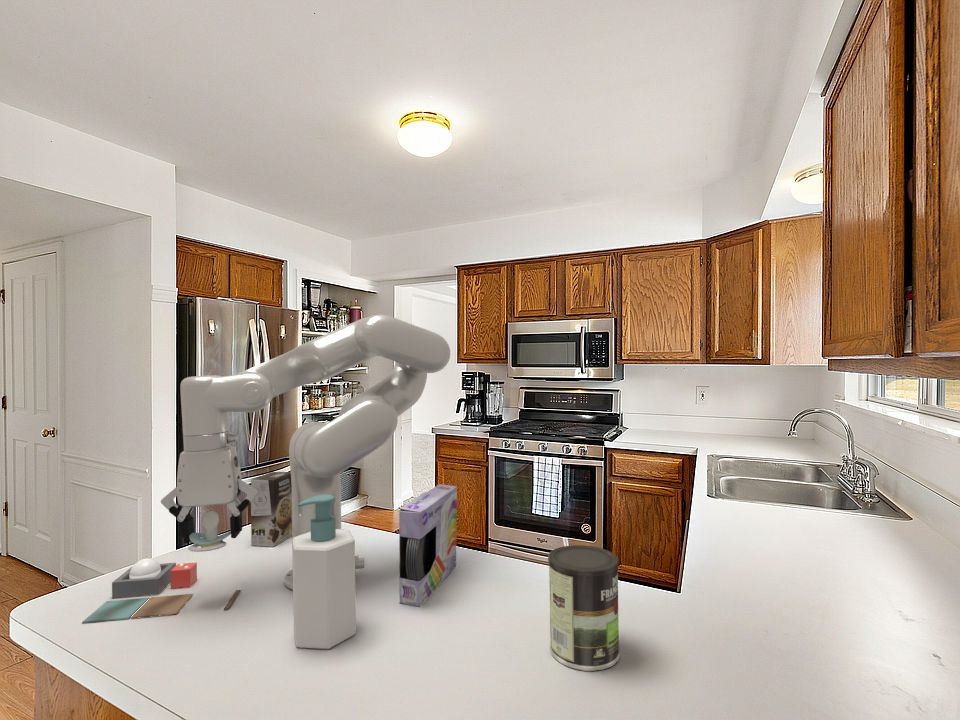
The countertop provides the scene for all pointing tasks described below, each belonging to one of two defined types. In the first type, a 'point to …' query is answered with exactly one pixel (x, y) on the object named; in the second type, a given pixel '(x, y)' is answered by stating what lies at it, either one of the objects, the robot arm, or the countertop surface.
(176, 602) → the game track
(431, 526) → the cake pan box
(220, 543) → the pacifier
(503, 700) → the countertop surface
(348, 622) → the soap bottle
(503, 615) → the countertop surface
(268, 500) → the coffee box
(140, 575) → the popper dome
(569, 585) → the coffee can
